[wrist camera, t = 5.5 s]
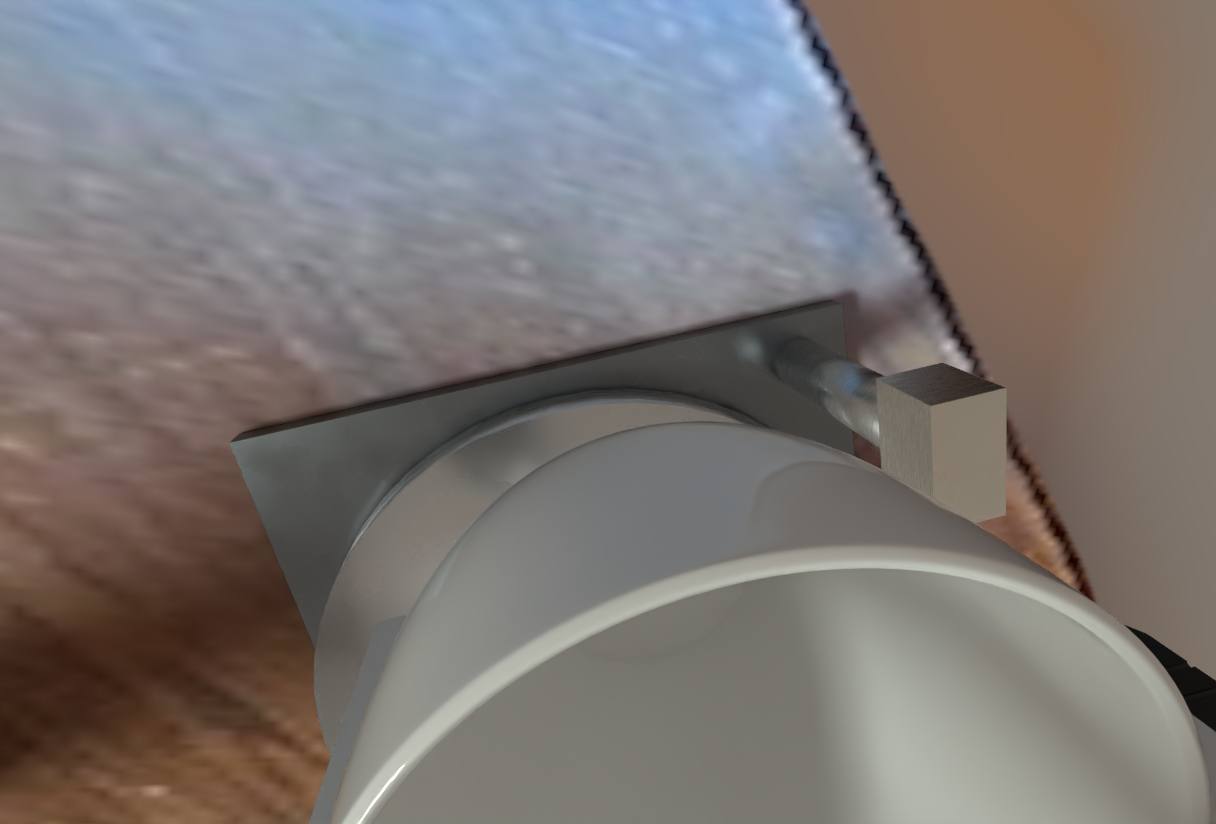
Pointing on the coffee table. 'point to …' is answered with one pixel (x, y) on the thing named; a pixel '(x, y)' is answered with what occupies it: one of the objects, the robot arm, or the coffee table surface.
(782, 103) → the coffee table surface
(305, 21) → the coffee table surface
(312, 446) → the base
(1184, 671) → the robot arm
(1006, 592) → the cup
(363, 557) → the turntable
